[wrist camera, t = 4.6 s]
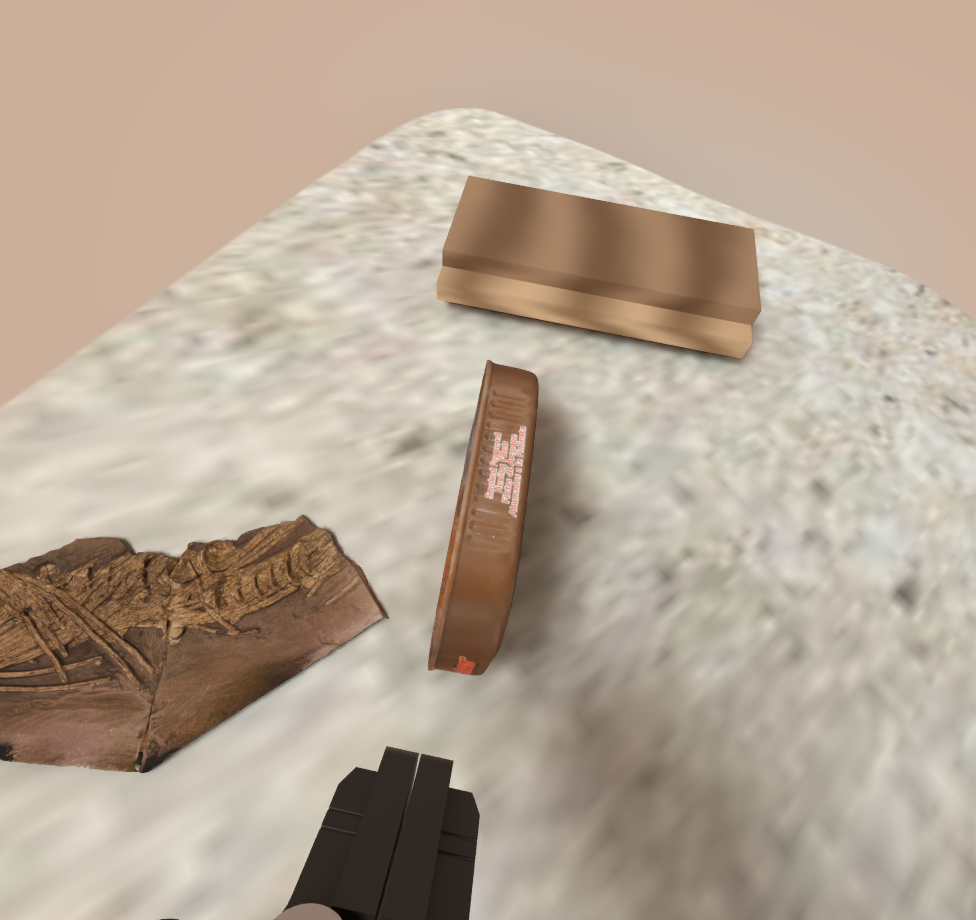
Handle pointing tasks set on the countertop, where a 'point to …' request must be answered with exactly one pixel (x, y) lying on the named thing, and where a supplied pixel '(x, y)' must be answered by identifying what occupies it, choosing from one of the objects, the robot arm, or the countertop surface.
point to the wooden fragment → (163, 640)
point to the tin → (487, 524)
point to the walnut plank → (602, 267)
